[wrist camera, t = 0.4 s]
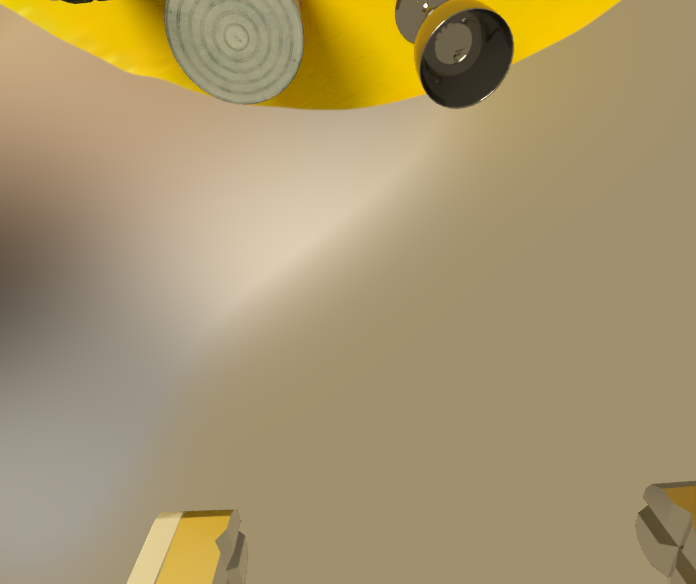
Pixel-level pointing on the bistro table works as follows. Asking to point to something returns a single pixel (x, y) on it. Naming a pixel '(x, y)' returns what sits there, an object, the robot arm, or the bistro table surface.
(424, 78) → the wine glass
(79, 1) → the potion bottle
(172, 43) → the canned food
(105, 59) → the bistro table surface
